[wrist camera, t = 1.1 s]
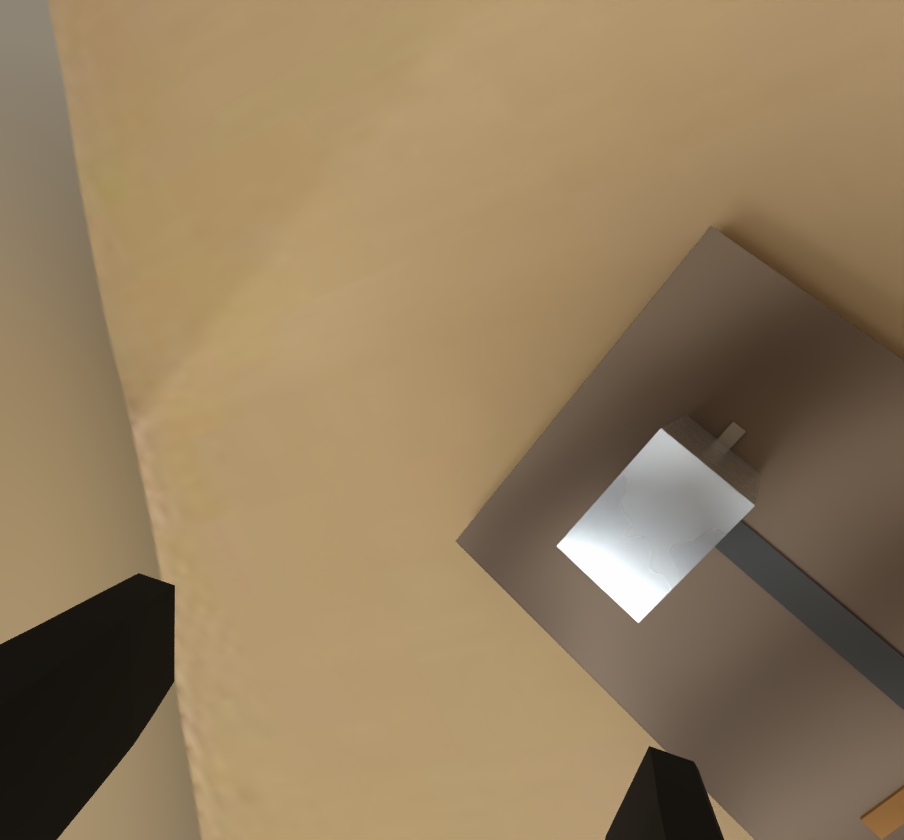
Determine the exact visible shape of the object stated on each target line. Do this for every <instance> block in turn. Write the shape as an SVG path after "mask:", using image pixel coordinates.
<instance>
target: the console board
mask: <svg viewBox="0 0 904 840" xmlns="http://www.w3.org/2000/svg"><path fill="white" fill-rule="evenodd" d="M686 415H688V416H689V417H690V418H691V419H693V420H694V421H695V422H696V423H697V424H699V425H700V426H701V427H702V428H704V429H705V430H706V431H707V432H709V433H710V434H711V435H712V436H714V437H715V438H716V439H717V440H719V441H720V442H721V443H722V444H723V445H725V446H726V447H727V448H728V449H730V450H731V451H732V452H733V453H735V454H736V455H737V456H738V457H740V458H741V459H742V460H743V461H745V462H746V463H747V464H748V465H749V466H751V467H752V468H753V469H754V470H756V471H757V472H758V473H759V474H761V478H760V483H759V488H758V493H757V499H756V504H755V506H754V507H753V508H752V509H751V510H750V511H749V512H748V513H747V514H746V515H745V516H744V517H743V518H742V519H741V520H740V521H739V522H738V523H737V524H736V525H735V526H734V527H733V528H732V529H731V530H730V531H729V532H728V533H727V534H726V535H725V536H724V537H723V538H722V539H721V540H720V541H719V543H718V544H717V545H716V546H715V547H714V548H713V549H712V550H711V551H710V552H709V553H708V554H707V555H706V556H705V557H704V558H703V559H702V560H701V561H700V562H699V563H698V564H697V565H696V566H695V567H694V568H693V569H692V570H691V571H690V572H689V573H688V574H687V575H686V576H685V577H684V578H683V579H682V580H681V581H680V582H679V583H678V584H677V585H676V586H675V587H674V588H673V589H672V590H671V591H670V592H669V593H668V594H667V595H666V596H665V597H664V598H663V599H662V600H661V601H660V602H659V603H658V604H657V605H656V606H655V607H654V608H653V609H652V610H651V611H650V612H649V613H648V614H647V615H646V616H645V617H644V618H643V619H642V620H641V621H640V622H639V623H638V622H637V621H636V620H635V619H634V618H632V617H631V616H630V615H629V614H628V613H627V612H626V611H625V610H624V609H623V608H622V607H621V606H620V605H619V604H618V603H617V602H615V601H614V600H613V599H612V598H611V597H610V596H609V595H608V594H607V593H606V592H605V591H604V590H603V589H602V588H601V587H600V586H599V585H597V584H596V583H595V582H594V581H593V580H592V579H591V578H590V577H589V576H588V575H587V574H586V573H585V572H584V571H583V570H582V569H580V568H579V567H578V566H577V565H576V564H575V563H574V562H573V561H572V560H571V559H570V558H569V557H568V556H567V555H566V554H565V553H564V552H562V551H561V550H560V549H559V548H558V547H557V545H558V544H559V543H560V542H561V540H562V539H563V538H564V537H565V536H566V535H567V534H568V533H569V531H570V530H571V529H572V528H573V527H574V526H575V525H576V524H577V522H578V521H579V520H580V519H581V518H582V517H583V516H584V514H585V513H586V512H587V511H588V510H589V509H590V508H591V507H592V505H593V504H594V503H595V502H596V501H597V500H598V499H599V497H600V496H601V495H602V494H603V493H604V492H605V491H606V490H607V488H608V487H609V486H610V485H611V484H612V483H613V482H614V481H615V479H616V478H617V477H618V476H619V475H620V474H621V473H622V471H623V470H624V469H625V468H626V467H627V466H628V465H629V464H630V462H631V461H632V460H633V459H634V458H635V457H636V456H637V455H638V453H639V452H640V451H641V450H642V449H643V448H644V447H645V445H646V444H647V443H648V442H649V441H650V440H651V439H652V438H653V436H654V435H655V434H656V433H657V432H658V431H659V430H660V428H662V427H664V426H666V425H668V424H670V423H672V422H674V421H676V420H678V419H680V418H682V417H684V416H686ZM456 542H457V543H458V544H459V545H460V546H461V547H462V548H463V549H464V550H465V551H466V552H467V553H468V554H469V555H470V556H471V557H472V558H473V559H474V560H475V561H476V562H477V563H478V564H479V565H480V566H481V567H482V568H483V569H484V570H485V571H486V572H487V573H488V574H489V575H490V576H491V577H492V578H493V579H494V580H495V581H496V582H497V583H498V584H499V585H500V586H501V587H502V588H503V589H504V590H505V591H506V592H507V593H508V594H509V595H510V596H511V597H512V598H513V599H514V600H515V601H516V602H517V603H518V604H519V605H520V606H521V607H522V608H523V609H524V610H525V611H526V612H527V613H528V614H529V615H530V616H531V617H532V618H533V619H534V620H535V621H536V622H537V623H538V624H539V625H540V626H541V627H542V628H543V629H544V630H545V631H546V632H547V633H548V634H549V635H550V636H551V637H552V638H553V639H554V640H555V641H556V642H557V643H558V644H559V645H560V646H561V647H562V648H563V649H564V650H565V651H566V652H567V653H568V654H569V655H570V656H571V657H572V658H573V659H574V660H575V661H576V662H577V663H578V664H579V665H580V666H581V667H582V668H583V669H584V670H585V671H586V672H587V673H588V674H589V675H590V676H591V677H592V678H593V679H594V680H595V681H596V682H597V683H598V684H599V685H600V686H601V687H602V688H603V689H604V690H605V691H606V692H607V693H608V694H609V695H610V696H611V697H612V698H613V699H614V700H615V701H616V702H617V703H618V704H619V705H620V706H621V707H622V708H623V709H624V710H625V711H626V712H627V713H628V714H629V715H630V716H631V717H632V718H633V719H634V720H635V721H636V722H637V723H638V724H639V725H640V726H641V727H642V728H643V729H644V730H645V731H646V732H647V733H648V734H649V735H650V736H651V737H652V738H653V739H654V740H655V741H656V742H657V743H658V744H659V745H660V746H661V747H662V748H663V749H664V750H665V751H666V752H667V753H670V754H673V755H676V756H679V757H682V758H685V759H688V760H691V761H694V762H695V764H696V766H697V768H698V769H699V772H700V775H701V777H702V780H703V783H704V786H705V789H706V791H707V792H708V793H709V794H710V795H711V796H712V797H713V798H714V799H715V800H716V801H717V802H718V803H719V804H720V805H721V806H722V807H723V808H724V809H725V810H726V811H727V812H728V813H729V814H730V815H731V816H732V817H733V818H734V819H735V820H736V821H737V822H738V823H739V824H740V825H741V826H742V827H743V828H744V829H745V830H746V831H747V832H748V833H749V834H750V835H751V836H752V837H753V838H754V839H755V840H904V360H902V359H901V358H900V357H898V356H897V355H895V354H894V353H892V352H891V351H890V350H888V349H887V348H885V347H884V346H882V345H881V344H879V343H878V342H877V341H875V340H874V339H872V338H871V337H869V336H868V335H867V334H865V333H864V332H862V331H861V330H859V329H858V328H857V327H855V326H854V325H852V324H851V323H849V322H848V321H847V320H845V319H844V318H842V317H841V316H839V315H838V314H837V313H835V312H834V311H832V310H831V309H829V308H828V307H826V306H825V305H824V304H822V303H821V302H819V301H818V300H816V299H815V298H814V297H812V296H811V295H809V294H808V293H806V292H805V291H804V290H802V289H801V288H799V287H798V286H796V285H795V284H794V283H792V282H791V281H789V280H788V279H786V278H785V277H783V276H782V275H781V274H779V273H778V272H776V271H775V270H773V269H772V268H771V267H769V266H768V265H766V264H765V263H763V262H762V261H761V260H759V259H758V258H756V257H755V256H753V255H752V254H751V253H749V252H748V251H746V250H745V249H743V248H742V247H740V246H739V245H738V244H736V243H735V242H733V241H732V240H730V239H729V238H728V237H726V236H725V235H723V234H722V233H720V232H719V231H718V230H716V229H715V228H713V227H712V226H710V228H709V229H708V230H707V231H706V233H705V234H704V235H703V236H702V238H701V239H700V240H699V241H698V243H697V244H696V245H695V246H694V247H693V249H692V250H691V251H690V252H689V254H688V255H687V256H686V257H685V259H684V260H683V261H682V262H681V263H680V265H679V266H678V267H677V268H676V270H675V271H674V272H673V273H672V275H671V276H670V277H669V278H668V280H667V281H666V282H665V283H664V284H663V286H662V287H661V288H660V289H659V291H658V292H657V293H656V294H655V296H654V297H653V298H652V299H651V301H650V302H649V303H648V304H647V305H646V307H645V308H644V309H643V310H642V312H641V313H640V314H639V315H638V317H637V318H636V319H635V320H634V321H633V323H632V324H631V325H630V326H629V328H628V329H627V330H626V331H625V333H624V334H623V335H622V336H621V338H620V339H619V340H618V341H617V342H616V344H615V345H614V346H613V347H612V349H611V350H610V351H609V352H608V354H607V355H606V356H605V357H604V359H603V360H602V361H601V362H600V363H599V365H598V366H597V367H596V368H595V370H594V371H593V372H592V373H591V375H590V376H589V377H588V378H587V379H586V381H585V382H584V383H583V384H582V386H581V387H580V388H579V389H578V391H577V392H576V393H575V394H574V396H573V397H572V398H571V399H570V400H569V402H568V403H567V404H566V405H565V407H564V408H563V409H562V410H561V412H560V413H559V414H558V415H557V417H556V418H555V419H554V420H553V421H552V423H551V424H550V425H549V426H548V428H547V429H546V430H545V431H544V433H543V434H542V435H541V436H540V437H539V439H538V440H537V441H536V442H535V444H534V445H533V446H532V447H531V449H530V450H529V451H528V452H527V454H526V455H525V456H524V457H523V458H522V460H521V461H520V462H519V463H518V465H517V466H516V467H515V468H514V470H513V471H512V472H511V473H510V475H509V476H508V477H507V478H506V479H505V481H504V482H503V483H502V484H501V486H500V487H499V488H498V489H497V491H496V492H495V493H494V494H493V496H492V497H491V498H490V499H489V500H488V502H487V503H486V504H485V505H484V507H483V508H482V509H481V510H480V512H479V513H478V514H477V515H476V516H475V518H474V519H473V520H472V521H471V523H470V524H469V525H468V526H467V528H466V529H465V530H464V531H463V533H462V534H461V535H460V536H459V537H458V539H457V540H456Z"/></svg>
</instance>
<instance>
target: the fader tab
mask: <svg viewBox="0 0 904 840" xmlns="http://www.w3.org/2000/svg"><path fill="white" fill-rule="evenodd" d="M760 478H761V474H759V473H758V472H757V471H756V470H754V469H753V468H752V467H751V466H749V465H748V464H747V463H746V462H745V461H743V460H742V459H741V458H740V457H738V456H737V455H736V454H735V453H733V452H732V451H731V450H730V449H728V448H727V447H726V446H725V445H723V444H722V443H721V442H720V441H719V440H717V439H716V438H715V437H714V436H712V435H711V434H710V433H709V432H707V431H706V430H705V429H704V428H702V427H701V426H700V425H699V424H697V423H696V422H695V421H694V420H693V419H691V418H690V417H689V416H688V415H686V416H684V417H682V418H680V419H678V420H676V421H674V422H672V423H670V424H668V425H666V426H664V427H662V428H660V430H659V431H658V432H657V433H656V434H655V435H654V436H653V438H652V439H651V440H650V441H649V442H648V443H647V444H646V445H645V447H644V448H643V449H642V450H641V451H640V452H639V453H638V455H637V456H636V457H635V458H634V459H633V460H632V461H631V462H630V464H629V465H628V466H627V467H626V468H625V469H624V470H623V471H622V473H621V474H620V475H619V476H618V477H617V478H616V479H615V481H614V482H613V483H612V484H611V485H610V486H609V487H608V488H607V490H606V491H605V492H604V493H603V494H602V495H601V496H600V497H599V499H598V500H597V501H596V502H595V503H594V504H593V505H592V507H591V508H590V509H589V510H588V511H587V512H586V513H585V514H584V516H583V517H582V518H581V519H580V520H579V521H578V522H577V524H576V525H575V526H574V527H573V528H572V529H571V530H570V531H569V533H568V534H567V535H566V536H565V537H564V538H563V539H562V540H561V542H560V543H559V544H558V545H557V547H558V548H559V549H560V550H561V551H562V552H564V553H565V554H566V555H567V556H568V557H569V558H570V559H571V560H572V561H573V562H574V563H575V564H576V565H577V566H578V567H579V568H580V569H582V570H583V571H584V572H585V573H586V574H587V575H588V576H589V577H590V578H591V579H592V580H593V581H594V582H595V583H596V584H597V585H599V586H600V587H601V588H602V589H603V590H604V591H605V592H606V593H607V594H608V595H609V596H610V597H611V598H612V599H613V600H614V601H615V602H617V603H618V604H619V605H620V606H621V607H622V608H623V609H624V610H625V611H626V612H627V613H628V614H629V615H630V616H631V617H632V618H634V619H635V620H636V621H637V622H638V623H639V622H640V621H641V620H642V619H643V618H644V617H645V616H646V615H647V614H648V613H649V612H650V611H651V610H652V609H653V608H654V607H655V606H656V605H657V604H658V603H659V602H660V601H661V600H662V599H663V598H664V597H665V596H666V595H667V594H668V593H669V592H670V591H671V590H672V589H673V588H674V587H675V586H676V585H677V584H678V583H679V582H680V581H681V580H682V579H683V578H684V577H685V576H686V575H687V574H688V573H689V572H690V571H691V570H692V569H693V568H694V567H695V566H696V565H697V564H698V563H699V562H700V561H701V560H702V559H703V558H704V557H705V556H706V555H707V554H708V553H709V552H710V551H711V550H712V549H713V548H714V547H715V546H716V545H717V544H718V543H719V541H720V540H721V539H722V538H723V537H724V536H725V535H726V534H727V533H728V532H729V531H730V530H731V529H732V528H733V527H734V526H735V525H736V524H737V523H738V522H739V521H740V520H741V519H742V518H743V517H744V516H745V515H746V514H747V513H748V512H749V511H750V510H751V509H752V508H753V507H754V506H755V504H756V499H757V493H758V488H759V483H760Z"/></svg>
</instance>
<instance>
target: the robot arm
mask: <svg viewBox="0 0 904 840" xmlns="http://www.w3.org/2000/svg"><path fill="white" fill-rule="evenodd" d="M174 625H175V585H172V584H169V583H166V582H163V581H160V580H157V579H154V578H151V577H148V576H145V575H142V574H137V575H134V576H132V577H131V578H129V579H127V580H125V581H123V582H121V583H119V584H117V585H115V586H113V587H111V588H109V589H107V590H106V591H103V592H101V593H99V594H97V595H95V596H94V597H92V598H90V599H88V600H86V601H84V602H82V603H80V604H78V605H76V606H75V607H72V608H71V609H69V610H67V611H65V612H63V613H61V614H59V615H57V616H55V617H53V618H51V619H50V620H48V621H46V622H44V623H42V624H40V625H38V626H36V627H34V628H32V629H30V630H28V631H26V632H24V633H22V634H20V635H18V636H16V637H14V638H12V639H10V640H8V641H6V642H4V643H2V644H0V840H57V838H58V837H59V836H60V835H61V834H62V832H63V831H64V830H65V829H66V827H67V826H68V825H69V824H70V822H71V821H72V820H73V819H74V817H75V816H76V815H77V814H78V812H80V810H81V809H82V808H83V807H84V805H85V804H86V803H87V802H88V801H89V799H90V798H91V797H92V796H93V794H94V793H95V792H96V791H97V789H98V788H99V787H100V786H101V785H102V783H103V782H104V781H105V779H106V778H107V777H108V776H109V775H110V773H111V772H112V771H113V770H114V768H115V767H116V766H117V765H118V763H119V762H120V761H121V760H122V758H123V757H124V756H125V755H126V753H127V752H128V751H129V750H130V748H131V747H132V746H133V745H134V743H135V742H136V740H137V739H138V737H139V736H140V734H141V732H142V731H143V730H144V728H145V727H146V725H147V723H148V722H149V721H150V719H151V717H152V716H153V714H154V713H155V711H156V710H157V708H158V706H159V705H160V703H161V702H162V700H163V698H164V697H165V695H166V694H167V692H168V690H169V689H170V687H171V686H172V684H173V683H174ZM605 840H724V838H723V835H722V833H721V830H720V827H719V825H718V822H717V819H716V816H715V814H714V811H713V808H712V805H711V803H710V800H709V797H708V794H707V792H706V789H705V786H704V783H703V780H702V777H701V775H700V772H699V769H698V768H697V766H696V764H695V762H694V761H691V760H688V759H685V758H682V757H679V756H676V755H673V754H670V753H667V752H664V751H662V750H659V749H656V748H653V747H650V746H649V748H648V750H647V752H646V754H645V756H644V758H643V760H642V762H641V764H640V766H639V769H638V771H637V773H636V775H635V777H634V779H633V781H632V783H631V785H630V787H629V789H628V791H627V793H626V795H625V798H624V800H623V802H622V804H621V806H620V808H619V810H618V812H617V814H616V816H615V818H614V820H613V822H612V825H611V827H610V829H609V831H608V833H607V835H606V838H605Z"/></svg>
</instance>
